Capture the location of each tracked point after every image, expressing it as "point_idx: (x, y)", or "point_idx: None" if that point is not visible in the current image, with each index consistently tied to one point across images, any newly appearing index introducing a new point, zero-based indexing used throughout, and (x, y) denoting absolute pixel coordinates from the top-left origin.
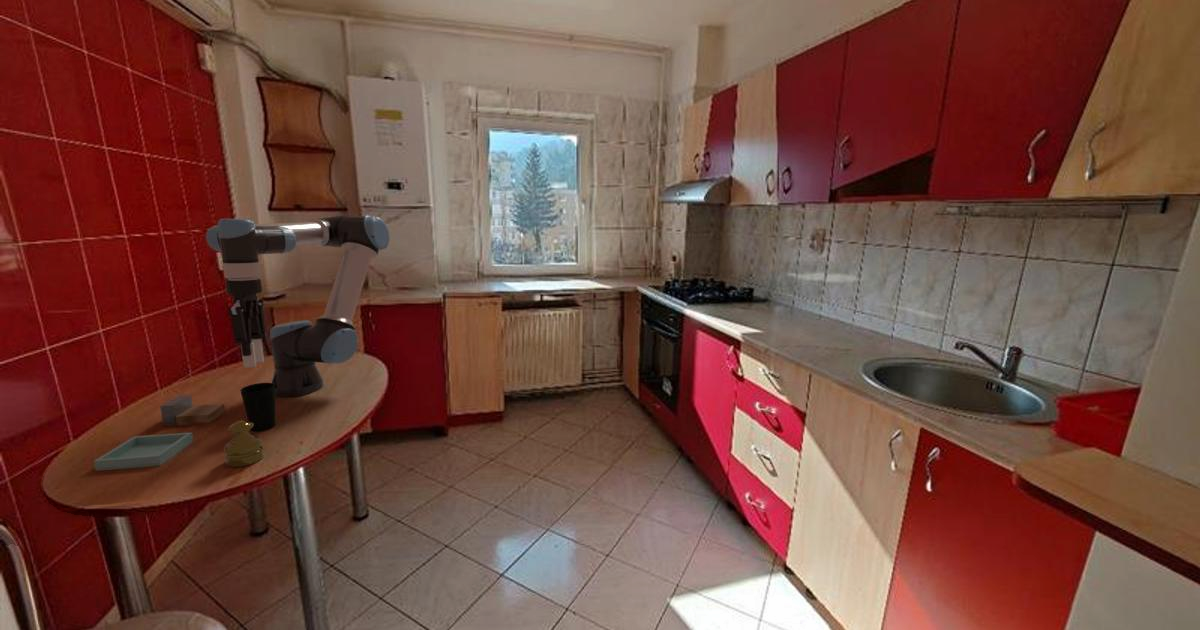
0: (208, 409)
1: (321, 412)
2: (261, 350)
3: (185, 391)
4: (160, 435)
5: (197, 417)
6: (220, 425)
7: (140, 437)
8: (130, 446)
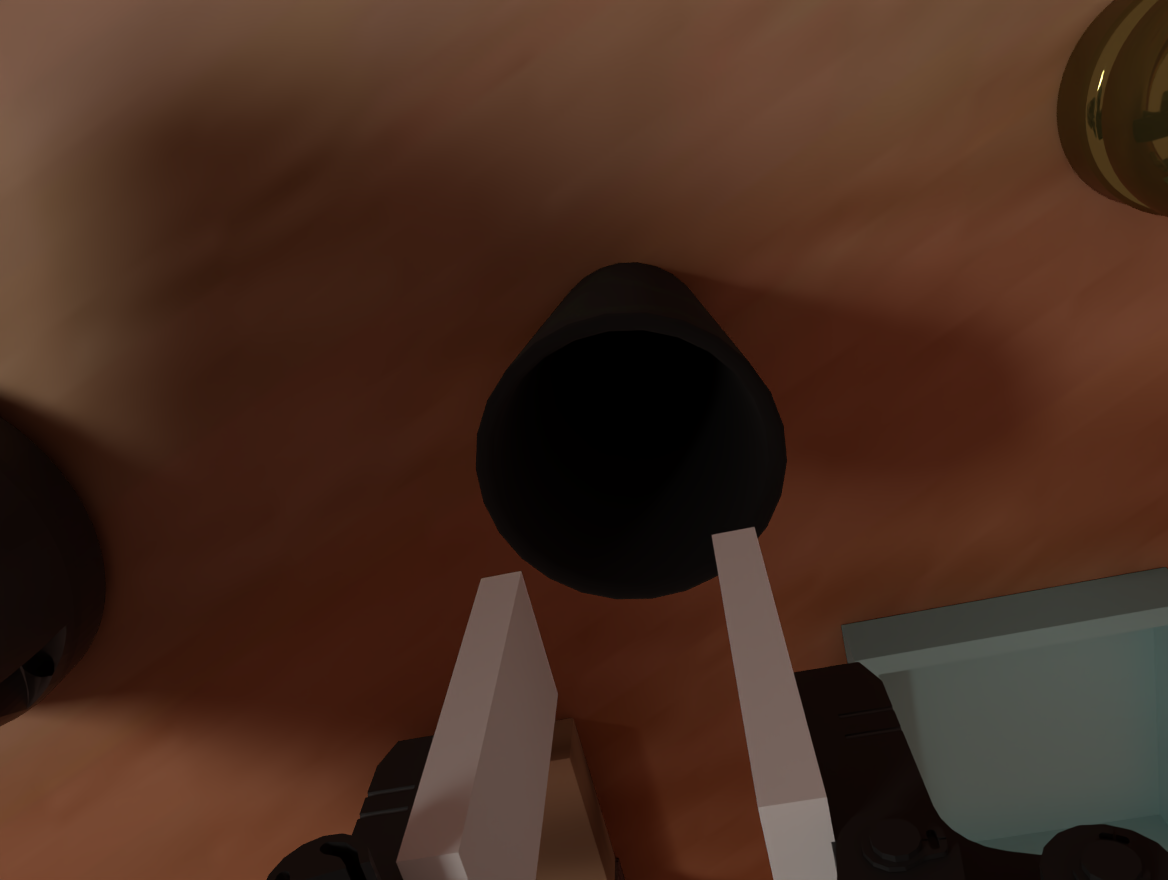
0: None
1: (292, 59)
2: (489, 686)
3: None
4: None
5: (587, 800)
6: (603, 637)
7: None
8: None
